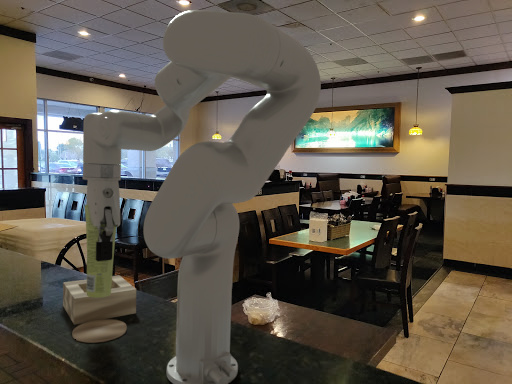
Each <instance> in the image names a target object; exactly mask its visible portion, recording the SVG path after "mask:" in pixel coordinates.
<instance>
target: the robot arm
mask: <svg viewBox="0 0 512 384" xmlns="http://www.w3.org/2000/svg"><path fill="white" fill-rule="evenodd" d="M162 47H163V51H164V53H165V55H166V57H167V59H168V60H169V62H168V63H167V64H166V65H164V66H163V67H162V68H161V69H160V70H159V71H158V72H156V75H155V77H154V86H155V90H156V92H157V94H158V96H159V98H160V99H161V101H162V102H163V104H164V105H163V107H162V106H161V108H160V109H159V110H158V111H156V112H155V113H154V114H151V115H148V114H144V113H143V114H142V113H138V112H132V111H131V112H130V111H126V110H125V111H124V110H118V109H111V110H107V111H104V112H102V113H101V112H91V113H88V114H86V115H85V116H84V118H83V134H82V135H83V137H82V138H83V141H82V142H83V143H82V149H83V150H82V151H83V152H82V154H83V155H82V180H85V181H87V186H86V202H85V203H86V204H85V205H88V212H89V217H90V221H91V224H92V225H93V226H95V227H97V234H98V242H96V260H97V261H106V260H112V249H113V230H114V226H113V224H114V225H116V226H115V227H116V228H118V227H119V226H120V225H121V199H120V198H121V197H120V185H119V181H121V178H122V177H121V176H122V175H121V173H122V150H128V151H129V150H131V151H143V152H151V151H152V152H154V151H157V150H160V149H162V148H164V147H165V146H166V145H169V143H171V142H172V141H173V140H175V139H176V138H177V137H179V135H181V134H182V133H183V131H184V129H185V128H186V126H187V124H188V122H189V118H190V113H191V112H190V110H191V109H192V108H193V107H195V106H196V105H197V104H199V103H200V102H201V101H203V100H204V99H206V97H208V96H209V95H210V94H211V93H213V92H214V91H215V90H217V89H218V88H219V87H221V86H222V85H223V84H224V83H226V82H227V81H229V80H230V79H231V78H232V79H233V78H235V79H237V80H240V81H243V82H246V83H248V84H251V85H254V86H256V87H259V88H263V89H265V91H266V95H265V96H264V97H263V98H262V99H261V100H260V101H259V102H257V103H256V104H255V105H254V106H252V108H250V109H249V111H247V113H246V115H244V117H243V118H242V120H241V122H240V124H239V125H238V127H237V128H236V130H235V131H234V132H233V134H232V135H231V137H230V138H228V140H226V141H224V142H221V141H213V140H212V141H208V140H207V141H200V142H197V143H194V144H192V145H190V146H189V147H188V148H186V149H185V150H184V151H183V152H182V153H181V154H180V155H179V156H178V158H177V159H176V160H175V162H174V163H173V165H172V167H171V169H169V172H168V173H167V175H166V177H165V179H163V180H164V181H163V182H162V184H161V186H160V188H159V190H157V193H156V195H155V196H154V198H153V199H152V202H151V203H150V205H149V207H148V209H147V211H146V213H145V218H144V221H143V228H142V229H143V239H144V241H145V242H144V243H145V244H146V246H147V248H148V249H149V250H150V252H151V253H153V254H154V255H156V256H158V257H160V258H162V259H169V260H170V259H179V258H181V260H180V264H179V269H178V274H177V275H178V276H177V291H176V292H177V297H176V301H177V302H176V334H175V337H176V339H175V356H174V357H172V358H171V359H170V360H169V361H168V363H167V365H166V371H165V372H166V377H167V379H168V380H169V381H170V382H171V383H172V384H229V383H231V382H232V381H234V380H235V379H236V377H237V375H238V373H239V371H238V370H239V364H238V362H237V360H236V359H235V358H234V357H233V356H232V354H231V353H230V351H231V319H232V298H233V297H232V294H233V293H232V291H233V290H232V289H233V274H234V273H233V272H234V261H235V253H236V248H237V243H238V240H239V238H238V237H239V235H240V234H239V233H240V218H239V214H238V213H239V212H238V211H237V209H236V207H235V206H234V204H240V203H244V202H247V201H250V200H252V199H254V197H256V196H257V194H258V193H259V192H260V191H261V189H263V187H264V185H265V183H266V182H267V180H268V179H269V178H270V176H271V175H272V174H273V172H274V171H275V169H276V167H277V166H278V165H279V163H280V161H281V160H282V159H283V157H284V156H285V154H286V152H287V151H288V149H289V148H290V147H291V146H292V144H293V143H294V141H295V140H296V138H297V137H298V136H299V134H301V132H302V130H303V129H304V128H305V126H306V125H307V123H308V122H309V120H310V119H311V118H312V116H313V114H314V111H315V110H316V108H317V105H318V104H319V100H320V94H321V88H322V87H321V83H322V82H321V75H320V69H319V67H318V65H317V63H316V60H315V58H314V57H313V56H312V54H311V52H310V51H308V50H307V48H306V47H305V46H304V45H302V44H301V43H300V42H299V41H298V40H296V39H295V37H292V36H291V35H289V34H288V33H287V32H284V31H283V30H281V29H280V28H278V27H277V26H276V25H274V24H273V23H271V22H270V21H267V20H266V19H265V18H262V17H261V16H258V15H254V14H250V13H245V12H235V11H234V12H232V11H217V10H207V9H205V10H204V9H191V10H186V11H183V12H180V13H179V14H178V15H175V17H174V18H173V19H172V20H170V22H169V23H168V25H167V26H166V28H165V31H164V33H163V37H162ZM112 218H113V220H114V223H113V221H112ZM100 221H101V222H100ZM102 224H105V227H100V225H102ZM101 230H104V231H103V232H102V234H101Z"/></svg>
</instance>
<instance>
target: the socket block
mask: <svg viewBox="0 0 512 384" xmlns="http://www.w3.org/2000/svg"><path fill="white" fill-rule="evenodd" d="M62 288H63V289H62V306H63V308H64V310H65V311H66V313H67V315H68V317H69V319H70V320H71V321H72V323H73V325H74V326H76V325H81V324H84V323H87V322H90V321H95V320H103V319H113V318H117V317H123V316H128V315H133V314H136V313H137V288H136V287H134V286H133V285H132V284H130V282H128V281H127V280H126V279H124V278H123V277H122V276H121V275H112V286H111V294H110V295H109V296H107V297H102V298H92V297H89V296H87V279H80V280H72V281H65V282H63V283H62Z"/></svg>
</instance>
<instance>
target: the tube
mask: <svg viewBox="0 0 512 384" xmlns="http://www.w3.org/2000/svg"><path fill="white" fill-rule="evenodd" d="M84 212H85V213H84V214H85V217H84V218H85V228H86V230H85V231H86V280H87V296H89V297H92V298H102V297H107V296H109V295H110V294H111V286H112V276H113V268H114V266H113V265H114V256H115V255H114V254H115V244H116V234H117V227H115V226H116V225H114V224H113V226H114V230H113V249H112V260H106V261H97V260H96V242H98V234H97V227H95V226H93V225H92V224H91V221H90V217H89V212H88V205H86V204H84ZM112 221H113V223H114V220H113V218H112ZM100 222H101V221H100ZM100 227H105V224H102V225H100ZM103 231H104V230H101V234H102V232H103Z"/></svg>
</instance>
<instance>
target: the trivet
mask: <svg viewBox="0 0 512 384" xmlns="http://www.w3.org/2000/svg"><path fill="white" fill-rule="evenodd" d="M127 330H128V327H127V324H126V323H125V322H124V321H121V320H118V319H113V318H108V319H102V320H95V321H90V322H86V323H81V324H78V325H77V326H76V327H74V328H73V330H72V331H71V332H72V334H71V335H72V338H73V339H74V340H75V339H76V340H75V341H77V342H80V343H87V344H88V343H89V344H90V343H91V344H93V343H105V342H109V341H113V340H115V339H118V338H120V337H122V336H123V335H124V334H126V332H127Z"/></svg>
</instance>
